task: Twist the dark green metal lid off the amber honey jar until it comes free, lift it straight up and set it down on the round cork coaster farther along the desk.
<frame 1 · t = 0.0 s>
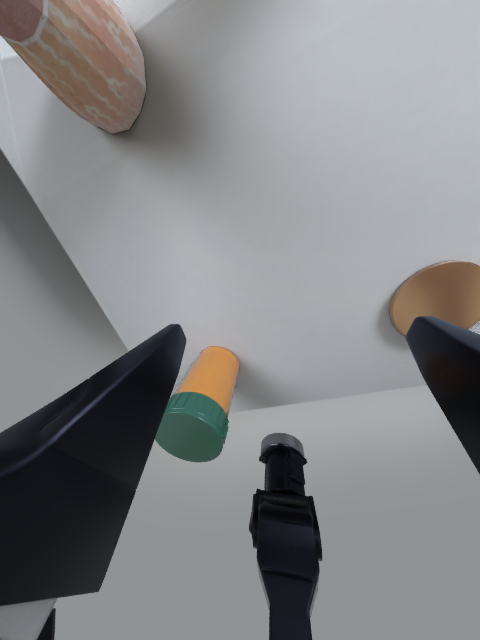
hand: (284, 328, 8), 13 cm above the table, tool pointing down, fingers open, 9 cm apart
coaster: (435, 303, 18), on the table
jar lid: (188, 434, 17), point 10 cm above the table, screwed on, not yet turned
vase: (100, 86, 16), on the table
honey jar: (218, 364, 26), on the table
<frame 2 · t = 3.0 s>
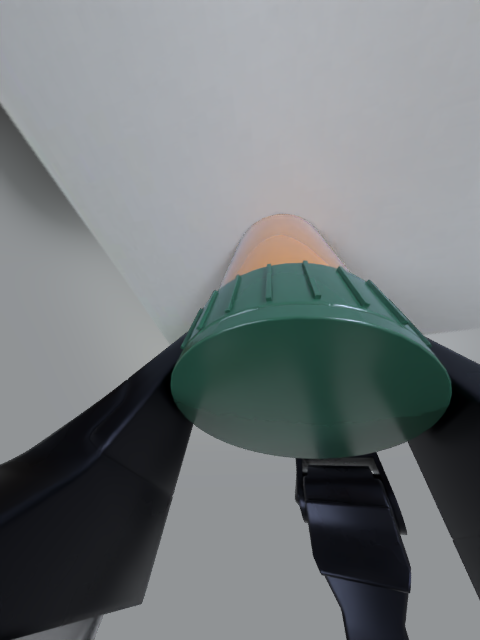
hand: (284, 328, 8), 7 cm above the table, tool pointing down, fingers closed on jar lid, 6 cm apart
jar lid: (289, 400, 5), point 10 cm above the table, screwed on, not yet turned, touching gripper
honey jar: (278, 262, 13), on the table
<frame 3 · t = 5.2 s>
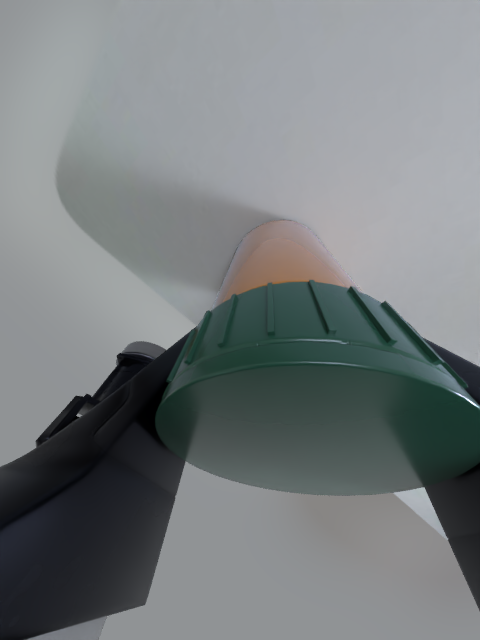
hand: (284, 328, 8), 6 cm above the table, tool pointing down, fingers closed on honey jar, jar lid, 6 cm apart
jar lid: (294, 437, 5), point 10 cm above the table, turned 67° so far, risen 0.2 cm, still on its thread, touching gripper
honey jar: (277, 269, 13), on the table, touching gripper
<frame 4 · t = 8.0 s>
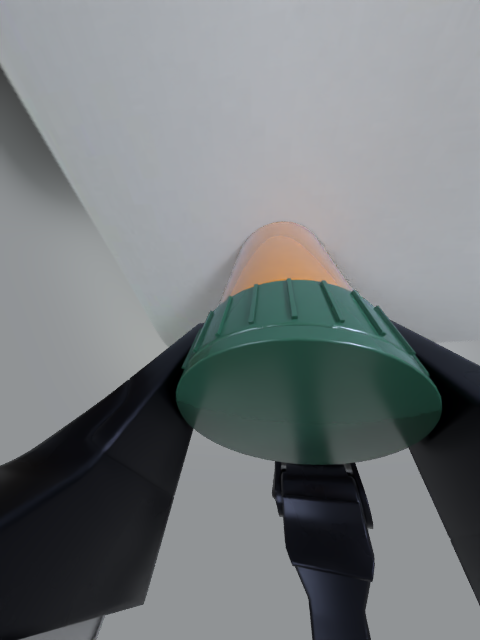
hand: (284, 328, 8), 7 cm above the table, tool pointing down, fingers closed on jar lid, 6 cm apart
jar lid: (289, 410, 5), point 10 cm above the table, turned 73° so far, risen 0.2 cm, still on its thread, touching gripper
honey jar: (278, 267, 13), on the table
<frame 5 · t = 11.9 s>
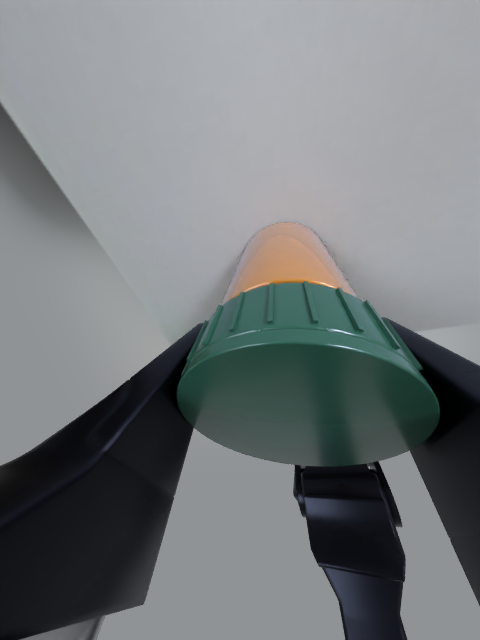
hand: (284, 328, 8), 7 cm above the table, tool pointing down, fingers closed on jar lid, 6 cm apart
jar lid: (288, 411, 5), point 11 cm above the table, turned 134° so far, risen 0.4 cm, still on its thread, touching gripper
honey jar: (281, 268, 14), on the table, touching gripper
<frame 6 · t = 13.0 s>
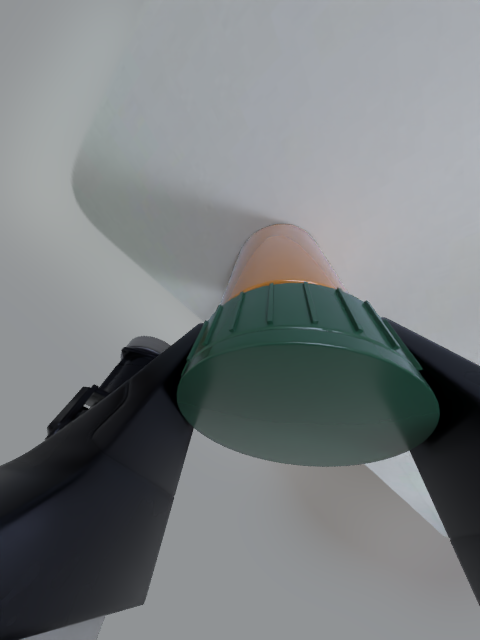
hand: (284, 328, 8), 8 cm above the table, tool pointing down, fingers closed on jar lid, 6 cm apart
jar lid: (288, 411, 5), point 11 cm above the table, off its thread, touching gripper
honey jar: (277, 268, 14), on the table, touching gripper
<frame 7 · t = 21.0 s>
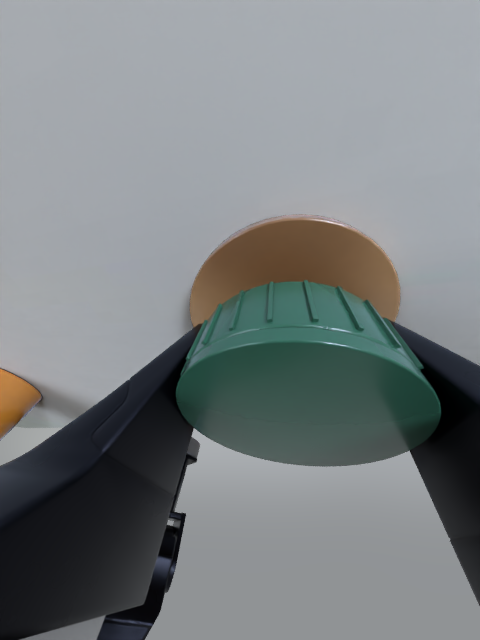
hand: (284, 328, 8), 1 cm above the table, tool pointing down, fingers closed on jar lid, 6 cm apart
coaster: (283, 318, 8), on the table
jar lid: (288, 411, 5), point 4 cm above the table, off its thread, touching gripper
honey jar: (4, 383, 16), on the table
when the fingers open (1 cm above the table, at t = 27.4 s): jar lid drops 2 cm, resting on coaster.
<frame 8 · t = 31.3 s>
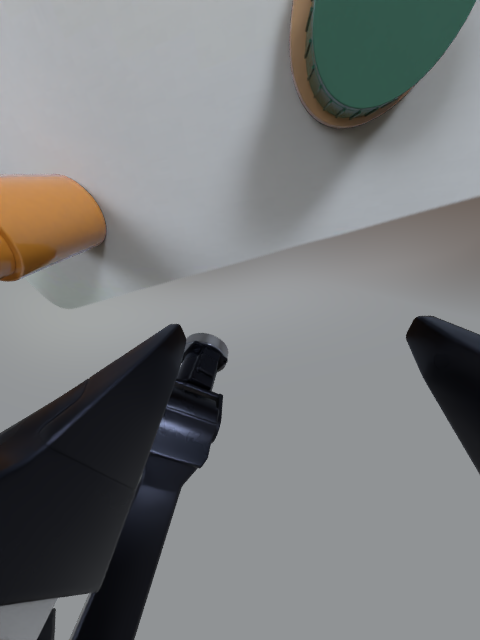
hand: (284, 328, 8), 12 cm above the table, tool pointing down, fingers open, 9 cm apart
coaster: (369, 18, 10), on the table
honey jar: (74, 214, 18), on the table
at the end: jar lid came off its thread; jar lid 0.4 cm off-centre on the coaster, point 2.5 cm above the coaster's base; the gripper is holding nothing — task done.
